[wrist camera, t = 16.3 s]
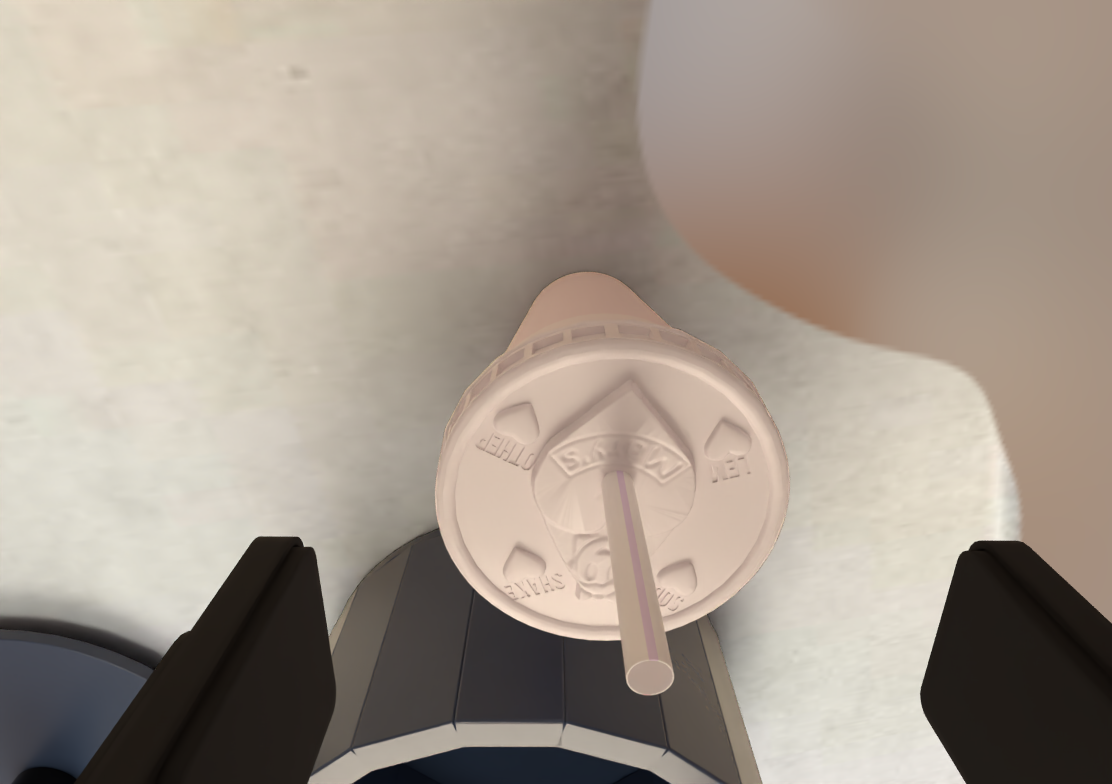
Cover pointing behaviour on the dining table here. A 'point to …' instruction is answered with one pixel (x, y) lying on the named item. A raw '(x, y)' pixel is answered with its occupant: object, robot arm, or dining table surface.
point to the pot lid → (58, 704)
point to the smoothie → (610, 475)
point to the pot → (512, 694)
